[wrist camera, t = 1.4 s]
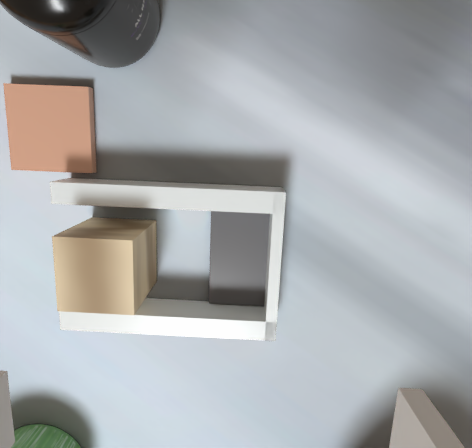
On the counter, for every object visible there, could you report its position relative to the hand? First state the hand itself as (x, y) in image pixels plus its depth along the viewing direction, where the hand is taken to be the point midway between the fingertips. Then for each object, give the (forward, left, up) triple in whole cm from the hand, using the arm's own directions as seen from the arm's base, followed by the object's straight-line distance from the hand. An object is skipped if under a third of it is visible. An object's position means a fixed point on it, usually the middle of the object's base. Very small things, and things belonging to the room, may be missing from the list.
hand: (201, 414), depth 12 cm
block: (+8, 0, -17) cm, 19 cm away
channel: (+4, 0, -17) cm, 18 cm away
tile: (+13, -9, -17) cm, 23 cm away
